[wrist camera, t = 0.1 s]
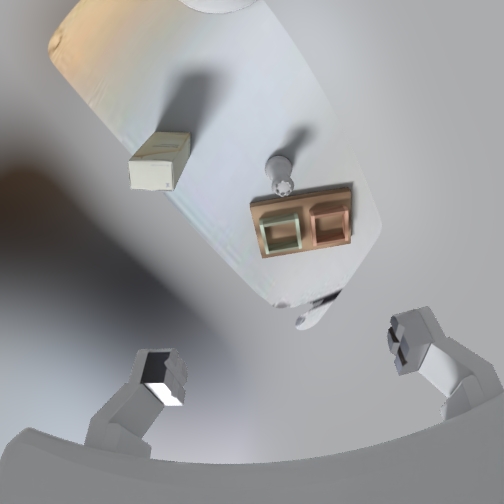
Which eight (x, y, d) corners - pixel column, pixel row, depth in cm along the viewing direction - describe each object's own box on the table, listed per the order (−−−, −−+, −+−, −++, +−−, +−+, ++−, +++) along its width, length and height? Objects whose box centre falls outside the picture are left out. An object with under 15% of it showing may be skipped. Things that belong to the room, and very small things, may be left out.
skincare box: (191, 132, 42) (174, 160, 32) (190, 157, 44) (175, 192, 35) (153, 131, 41) (126, 159, 32) (153, 156, 44) (129, 190, 35)
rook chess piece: (260, 160, 45) (262, 182, 39) (285, 150, 44) (292, 170, 38) (270, 182, 48) (275, 206, 42) (295, 172, 47) (303, 195, 41)
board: (249, 203, 51) (250, 213, 48) (348, 187, 49) (354, 196, 46) (261, 253, 58) (262, 265, 56) (348, 238, 56) (353, 249, 54)
